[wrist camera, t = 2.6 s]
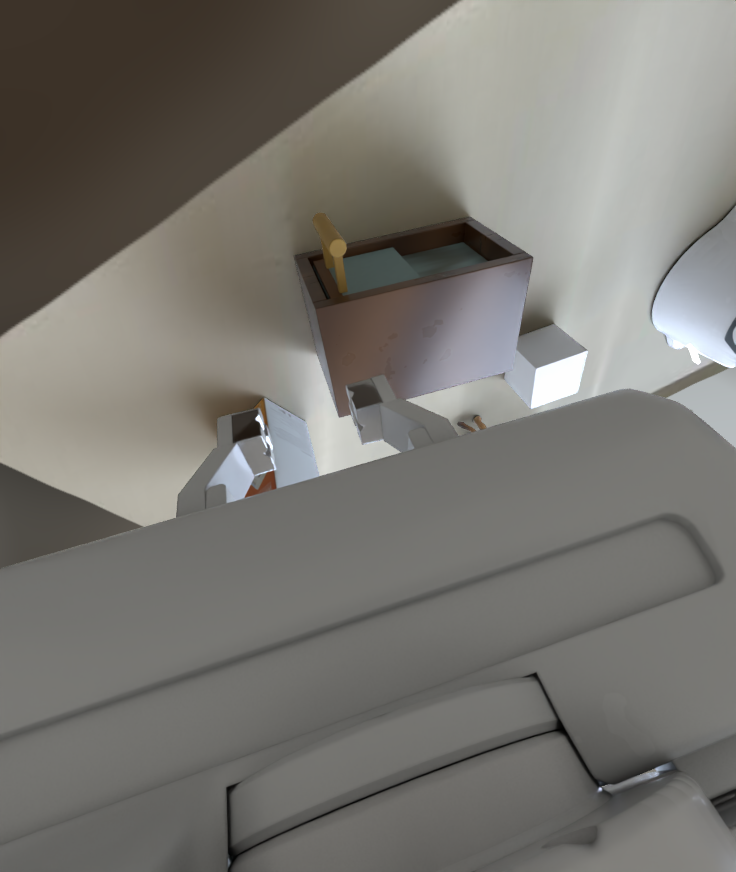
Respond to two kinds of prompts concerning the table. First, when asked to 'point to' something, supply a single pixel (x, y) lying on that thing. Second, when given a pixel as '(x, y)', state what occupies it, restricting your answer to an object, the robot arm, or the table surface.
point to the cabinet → (422, 312)
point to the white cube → (546, 366)
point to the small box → (285, 450)
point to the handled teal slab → (355, 264)
